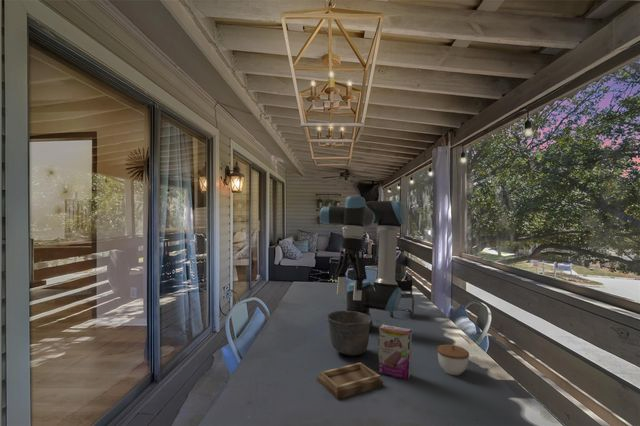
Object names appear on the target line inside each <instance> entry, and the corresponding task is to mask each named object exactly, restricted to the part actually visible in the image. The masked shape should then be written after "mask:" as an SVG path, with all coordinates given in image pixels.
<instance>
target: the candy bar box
mask: <svg viewBox="0 0 640 426" xmlns="http://www.w3.org/2000/svg"><path fill="white" fill-rule="evenodd" d="M412 342H413V329H411V328H405V327H399V326H393V325H388V324H383V323H381V325H380V326H379V327H378V345H377V346H378V347H377V351H378V352H377V374H382V375H386V376H391V377H396V378H399V379H402V380H409V378H410V376H411V375H412V374H411V373H412V346H413V345H412V344H413V343H412Z"/></svg>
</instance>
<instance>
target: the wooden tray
mask: <svg viewBox="0 0 640 426" xmlns="http://www.w3.org/2000/svg"><path fill="white" fill-rule="evenodd" d="M316 381H317V382H318V383H319V384H320V385H321V386H322V387H323V388H324V389H325V390H327V391H328V392H329V393H330V394H331V395H332V396H333V397H334V399H336V400H340V399H344V398H346V397H347V398H348V397H349V396H354V395H356V394H359V393H360V394H361V393H363V392H367V391H370V390H374V389H376V388H380V387H383V386H384V381H383V380H382V379H381V375H380V374H379V373H378V372H376V371H374V370H373V369H371V368H369V367H368V366H366V365H365V364H364V363H362V362H361V361H360V362H357V363H352V364H348V365H344V366H340V367H336V368H332V369H327V370H323V371H320V372H319V374H318V375H316Z"/></svg>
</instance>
